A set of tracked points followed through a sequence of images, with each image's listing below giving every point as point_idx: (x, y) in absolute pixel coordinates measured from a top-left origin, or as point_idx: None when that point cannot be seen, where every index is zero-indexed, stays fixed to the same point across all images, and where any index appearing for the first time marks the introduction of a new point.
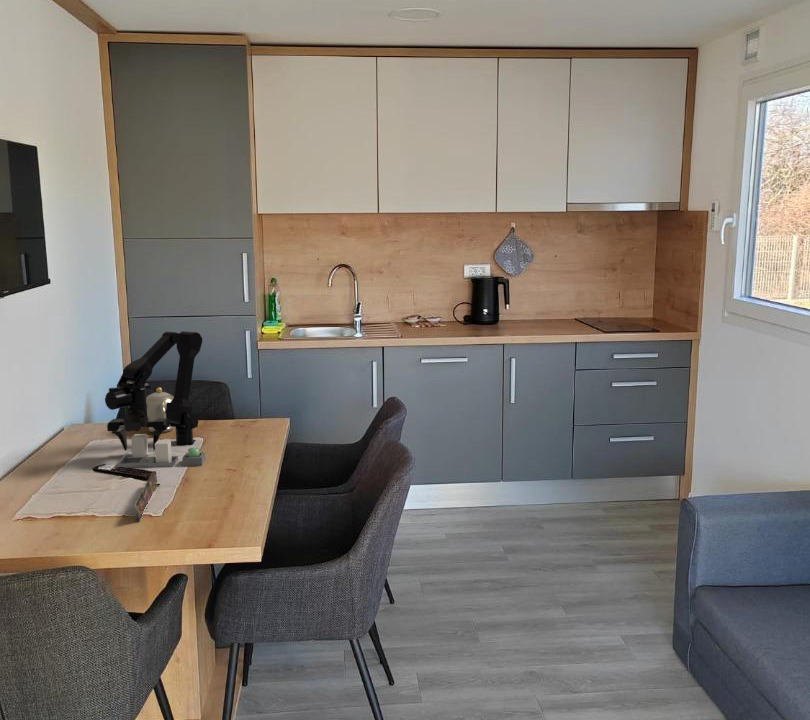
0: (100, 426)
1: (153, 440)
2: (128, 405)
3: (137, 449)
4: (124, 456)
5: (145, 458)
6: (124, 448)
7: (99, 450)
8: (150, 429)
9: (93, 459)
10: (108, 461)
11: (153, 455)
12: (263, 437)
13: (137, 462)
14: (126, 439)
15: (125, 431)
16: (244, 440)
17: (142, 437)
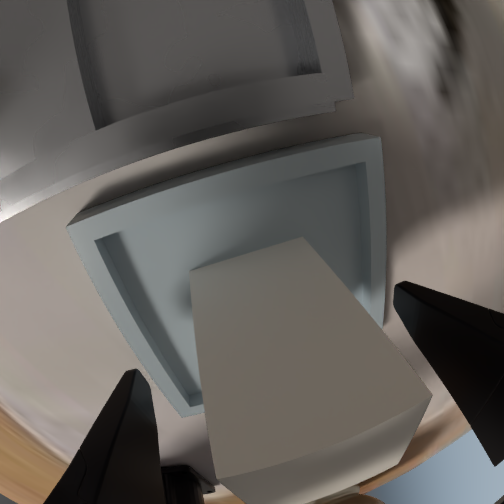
0: (458, 433)
1: (106, 453)
2: None
3: (278, 302)
4: (374, 222)
5: (48, 111)
6: (418, 286)
7: None
8: (352, 487)
9: (501, 192)
10: (443, 160)
11: (120, 314)
12: (19, 495)
13: (146, 67)
14: (444, 380)
15: (486, 437)
16: (29, 489)
17: (240, 471)
